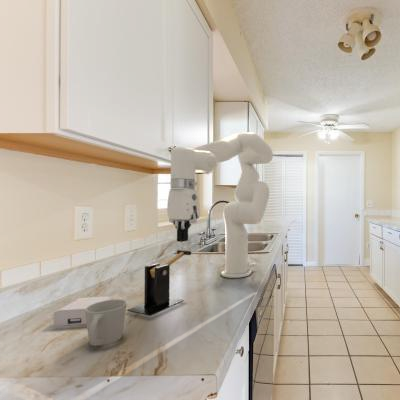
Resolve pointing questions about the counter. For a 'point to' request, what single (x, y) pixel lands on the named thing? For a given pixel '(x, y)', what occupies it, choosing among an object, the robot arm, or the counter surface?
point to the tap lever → (180, 254)
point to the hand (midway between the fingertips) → (182, 240)
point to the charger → (76, 311)
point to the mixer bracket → (156, 291)
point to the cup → (105, 321)
